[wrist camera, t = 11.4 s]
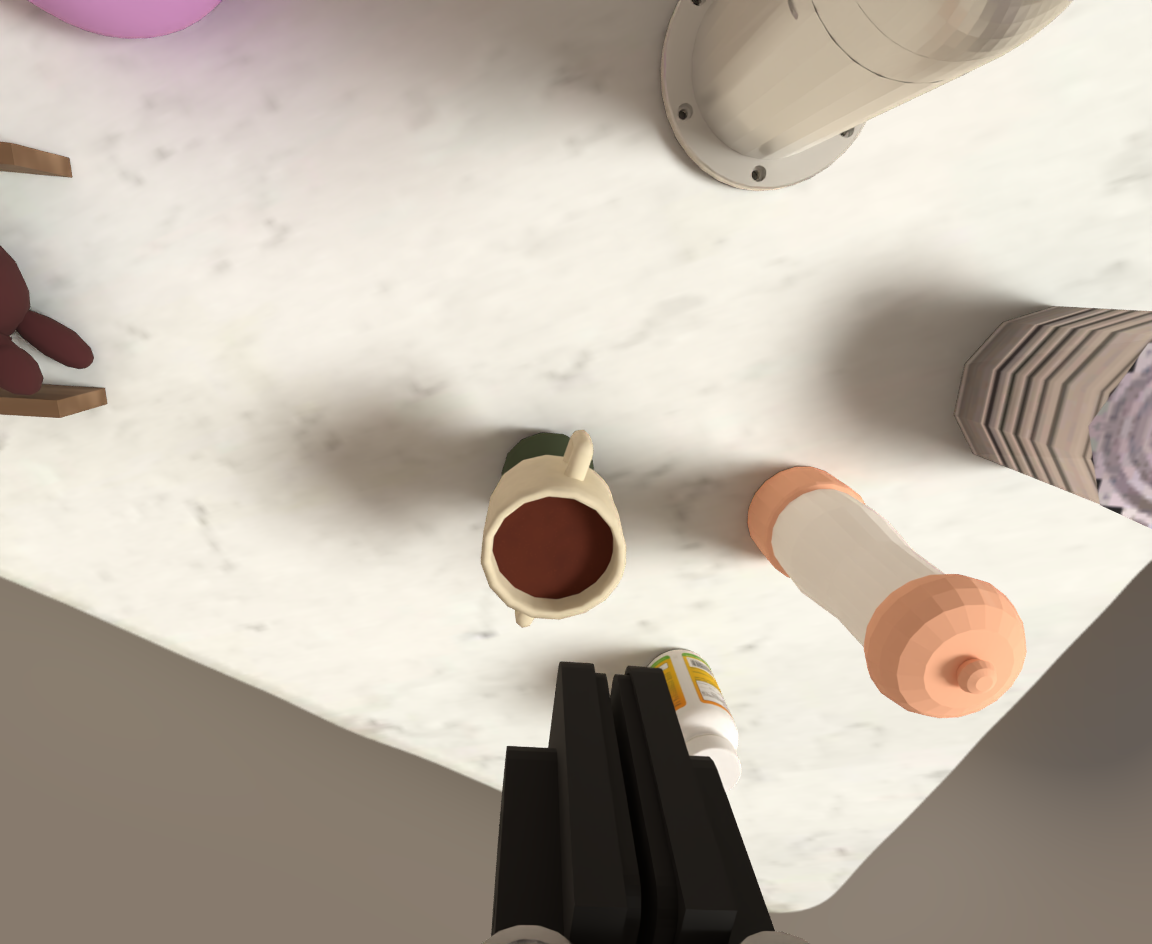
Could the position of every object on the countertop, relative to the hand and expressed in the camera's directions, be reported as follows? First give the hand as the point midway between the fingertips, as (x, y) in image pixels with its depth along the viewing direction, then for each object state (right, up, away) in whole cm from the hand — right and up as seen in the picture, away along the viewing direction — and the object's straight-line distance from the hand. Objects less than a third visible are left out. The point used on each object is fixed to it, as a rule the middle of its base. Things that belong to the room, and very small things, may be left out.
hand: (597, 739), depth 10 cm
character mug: (-2, +4, +32) cm, 32 cm away
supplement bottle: (+7, -12, +37) cm, 40 cm away
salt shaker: (+15, +1, +34) cm, 37 cm away
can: (+31, +10, +32) cm, 46 cm away
